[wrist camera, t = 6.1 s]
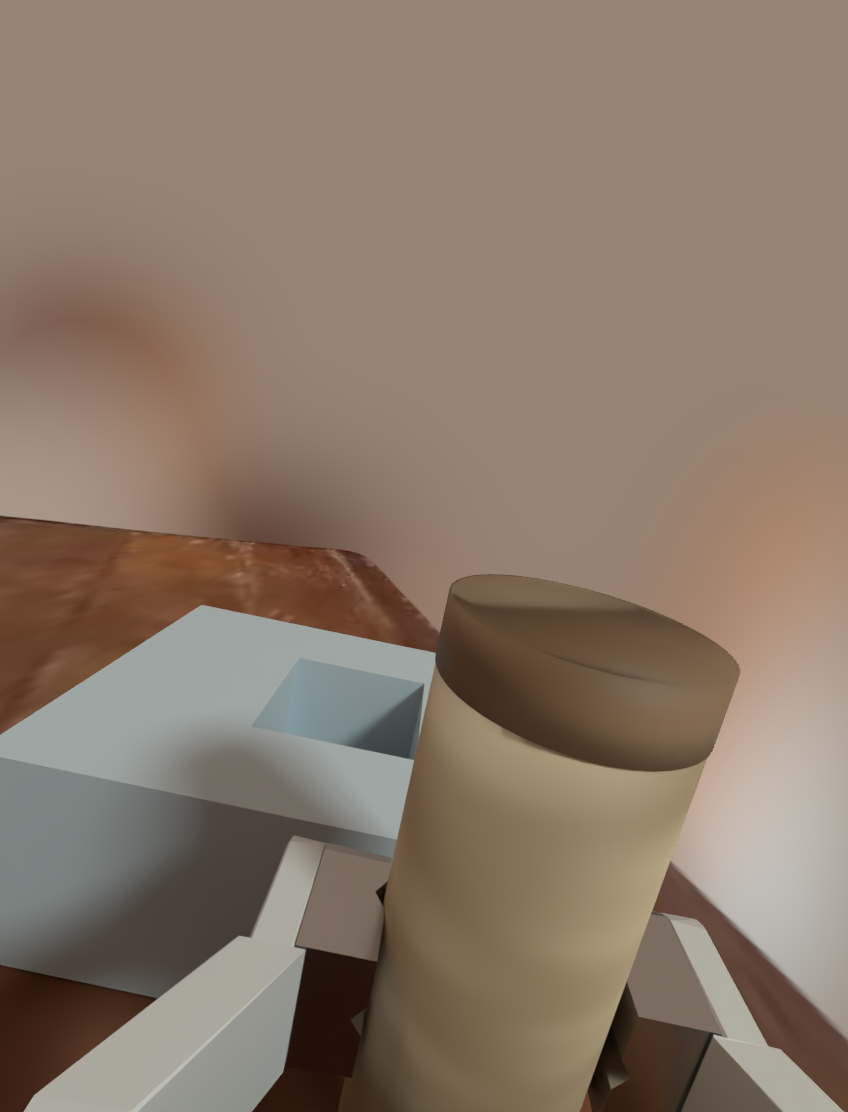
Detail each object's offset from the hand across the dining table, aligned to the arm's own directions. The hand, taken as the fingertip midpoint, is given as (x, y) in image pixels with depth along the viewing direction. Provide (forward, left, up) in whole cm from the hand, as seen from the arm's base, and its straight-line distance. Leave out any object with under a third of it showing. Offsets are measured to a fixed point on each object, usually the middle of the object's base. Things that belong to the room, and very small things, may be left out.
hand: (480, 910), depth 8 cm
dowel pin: (0, -1, -7) cm, 7 cm away
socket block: (-6, +6, -7) cm, 11 cm away
